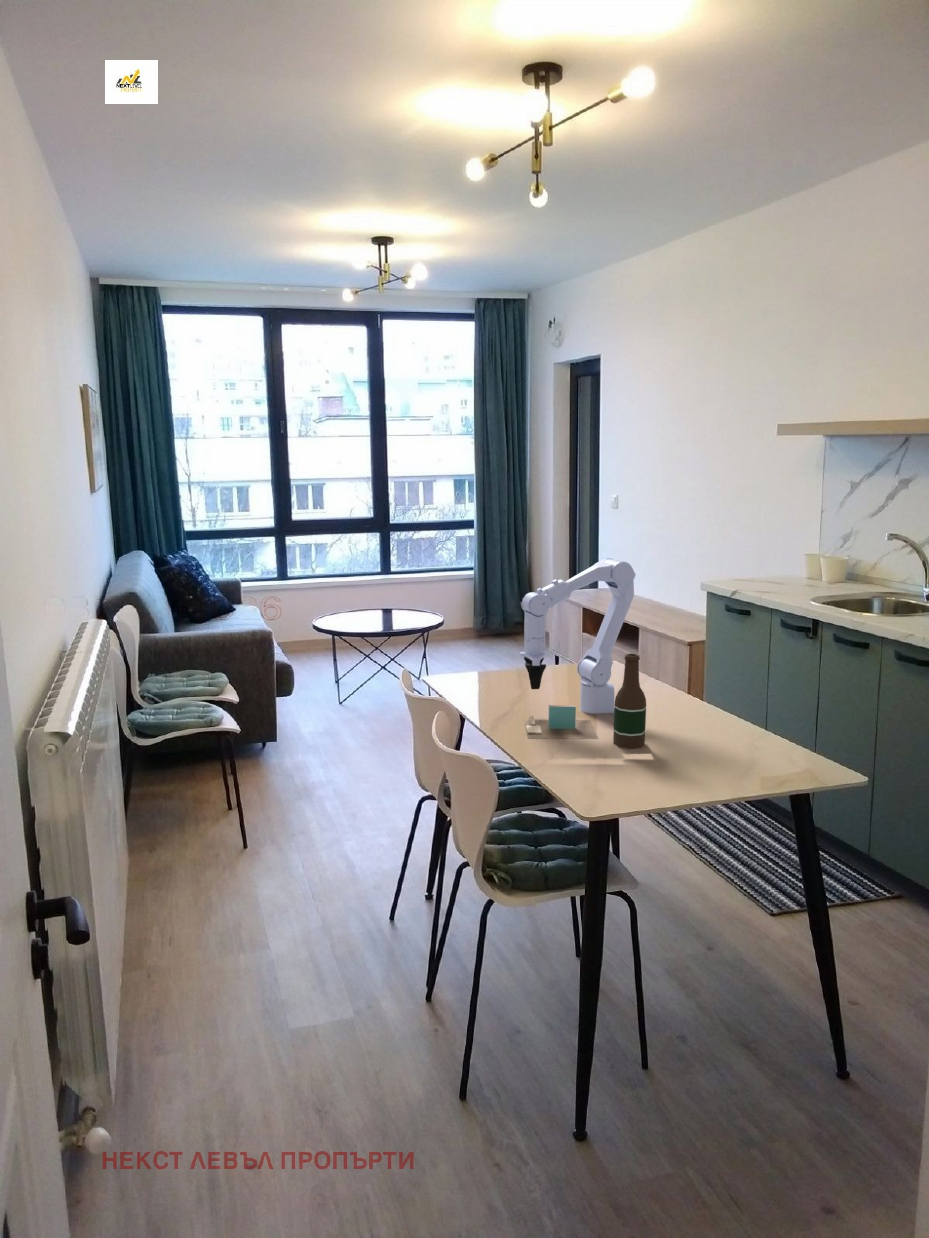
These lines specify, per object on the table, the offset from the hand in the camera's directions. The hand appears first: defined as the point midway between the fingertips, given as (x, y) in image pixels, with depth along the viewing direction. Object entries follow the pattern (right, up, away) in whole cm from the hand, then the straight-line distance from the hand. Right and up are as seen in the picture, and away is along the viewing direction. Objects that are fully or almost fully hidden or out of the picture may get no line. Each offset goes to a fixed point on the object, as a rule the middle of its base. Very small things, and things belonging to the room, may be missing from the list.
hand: (534, 685), depth 245 cm
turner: (-1, -10, -8) cm, 13 cm away
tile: (+6, -11, -9) cm, 16 cm away
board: (+6, -12, -10) cm, 17 cm away
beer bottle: (+22, -14, -22) cm, 34 cm away
